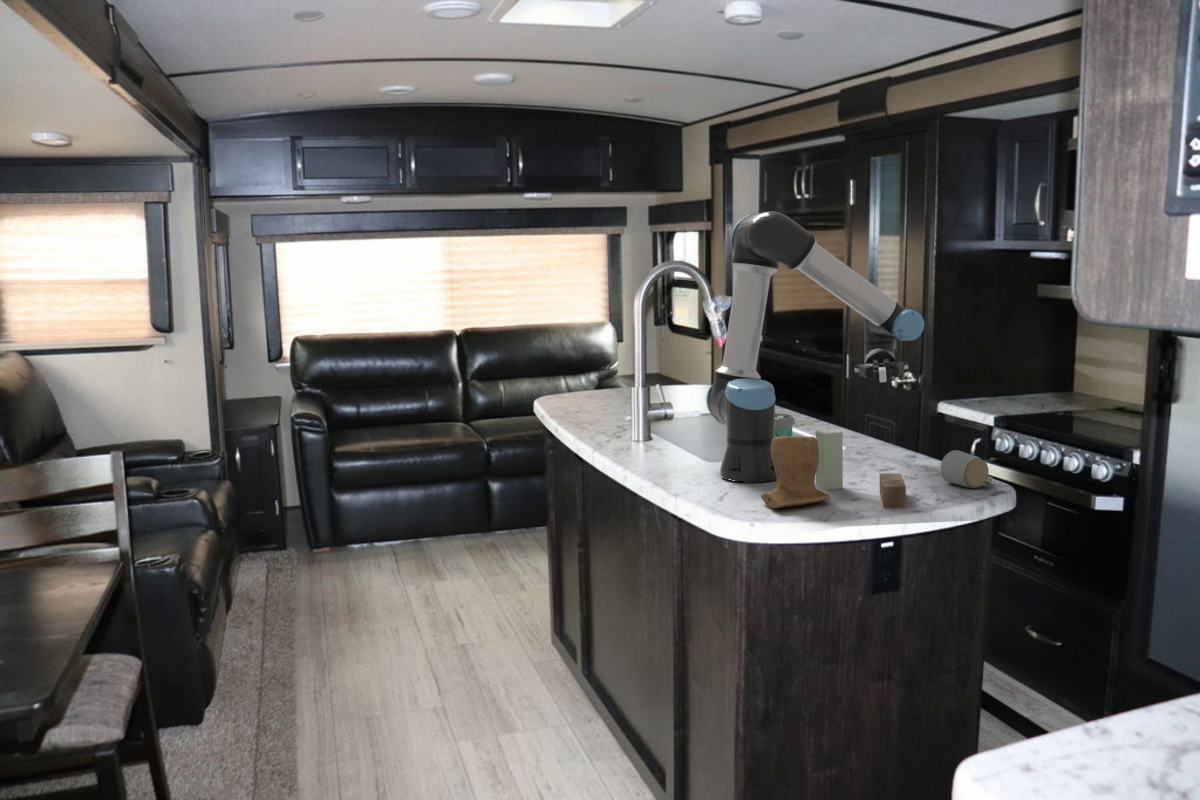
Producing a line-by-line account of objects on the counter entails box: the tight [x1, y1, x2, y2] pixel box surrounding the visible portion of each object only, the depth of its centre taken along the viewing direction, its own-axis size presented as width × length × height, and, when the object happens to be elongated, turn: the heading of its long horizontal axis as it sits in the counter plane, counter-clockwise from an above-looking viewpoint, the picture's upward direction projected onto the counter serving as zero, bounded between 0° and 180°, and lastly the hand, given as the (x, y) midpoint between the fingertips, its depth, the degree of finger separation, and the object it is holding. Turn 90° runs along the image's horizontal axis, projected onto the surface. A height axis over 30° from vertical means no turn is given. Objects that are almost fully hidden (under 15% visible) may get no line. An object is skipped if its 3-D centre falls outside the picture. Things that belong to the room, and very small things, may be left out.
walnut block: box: [879, 472, 907, 509], centre depth 210 cm, size 4×4×14 cm
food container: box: [775, 412, 796, 437], centre depth 269 cm, size 12×6×10 cm, turn 168°
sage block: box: [815, 428, 844, 491], centre depth 224 cm, size 4×4×13 cm
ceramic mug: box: [940, 449, 994, 489], centre depth 222 cm, size 11×8×8 cm
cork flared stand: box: [760, 435, 832, 509], centre depth 210 cm, size 15×12×15 cm
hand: (882, 376), depth 224 cm, fingers closed
